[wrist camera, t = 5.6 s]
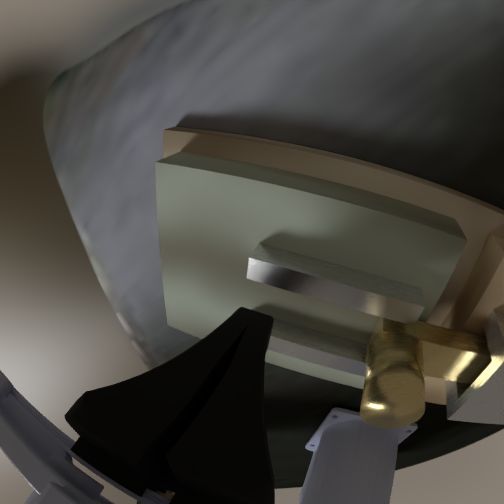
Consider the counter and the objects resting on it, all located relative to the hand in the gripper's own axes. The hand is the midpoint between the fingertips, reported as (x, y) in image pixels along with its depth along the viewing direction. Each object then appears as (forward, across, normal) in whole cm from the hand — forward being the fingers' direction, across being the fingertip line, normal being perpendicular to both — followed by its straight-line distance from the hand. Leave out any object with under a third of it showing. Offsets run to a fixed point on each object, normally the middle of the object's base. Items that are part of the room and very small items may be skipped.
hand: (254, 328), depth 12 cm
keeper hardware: (+2, -8, 0) cm, 8 cm away
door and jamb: (+5, -6, 0) cm, 8 cm away
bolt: (+2, -9, 0) cm, 9 cm away
